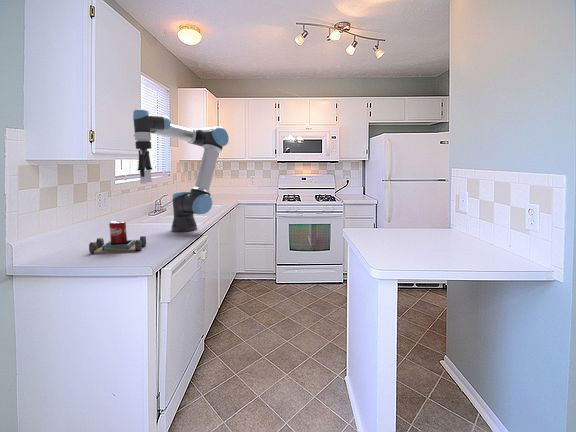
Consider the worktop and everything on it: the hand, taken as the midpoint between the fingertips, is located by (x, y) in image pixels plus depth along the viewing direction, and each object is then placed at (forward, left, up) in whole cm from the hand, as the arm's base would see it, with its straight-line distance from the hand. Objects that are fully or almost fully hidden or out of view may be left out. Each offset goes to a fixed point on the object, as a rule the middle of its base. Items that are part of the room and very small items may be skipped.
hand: (146, 182), depth 203 cm
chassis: (+18, -11, -31) cm, 37 cm away
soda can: (+18, -11, -30) cm, 36 cm away
